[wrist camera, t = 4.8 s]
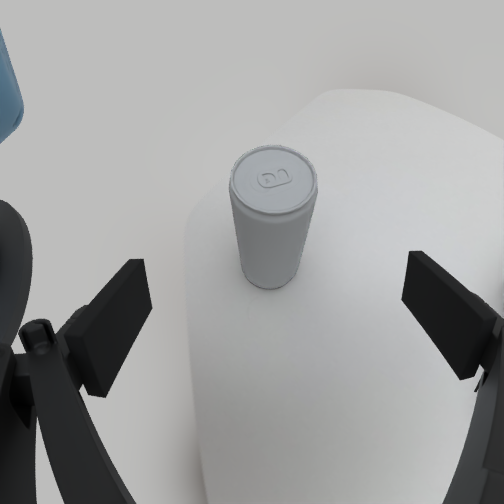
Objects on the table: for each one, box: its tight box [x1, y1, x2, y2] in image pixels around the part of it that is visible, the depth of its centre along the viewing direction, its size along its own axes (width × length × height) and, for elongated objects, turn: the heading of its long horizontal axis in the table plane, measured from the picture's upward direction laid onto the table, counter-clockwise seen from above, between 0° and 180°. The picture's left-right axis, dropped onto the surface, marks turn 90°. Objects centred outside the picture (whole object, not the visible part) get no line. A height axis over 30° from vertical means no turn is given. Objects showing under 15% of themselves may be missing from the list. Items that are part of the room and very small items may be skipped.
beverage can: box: [229, 145, 318, 289], centre depth 22 cm, size 5×5×12 cm
